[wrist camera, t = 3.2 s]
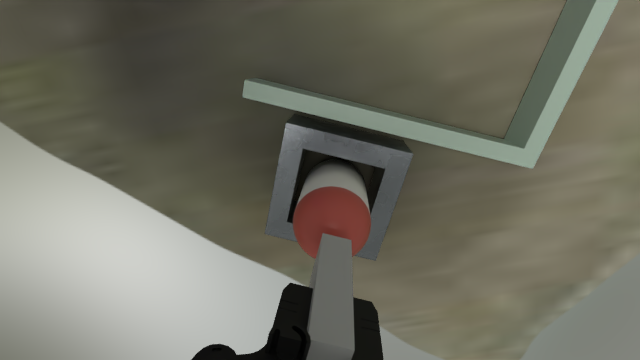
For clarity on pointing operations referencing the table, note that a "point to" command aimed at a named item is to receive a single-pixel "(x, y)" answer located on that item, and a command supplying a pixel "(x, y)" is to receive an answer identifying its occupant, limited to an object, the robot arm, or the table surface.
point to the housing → (348, 145)
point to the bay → (516, 148)
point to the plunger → (332, 207)
